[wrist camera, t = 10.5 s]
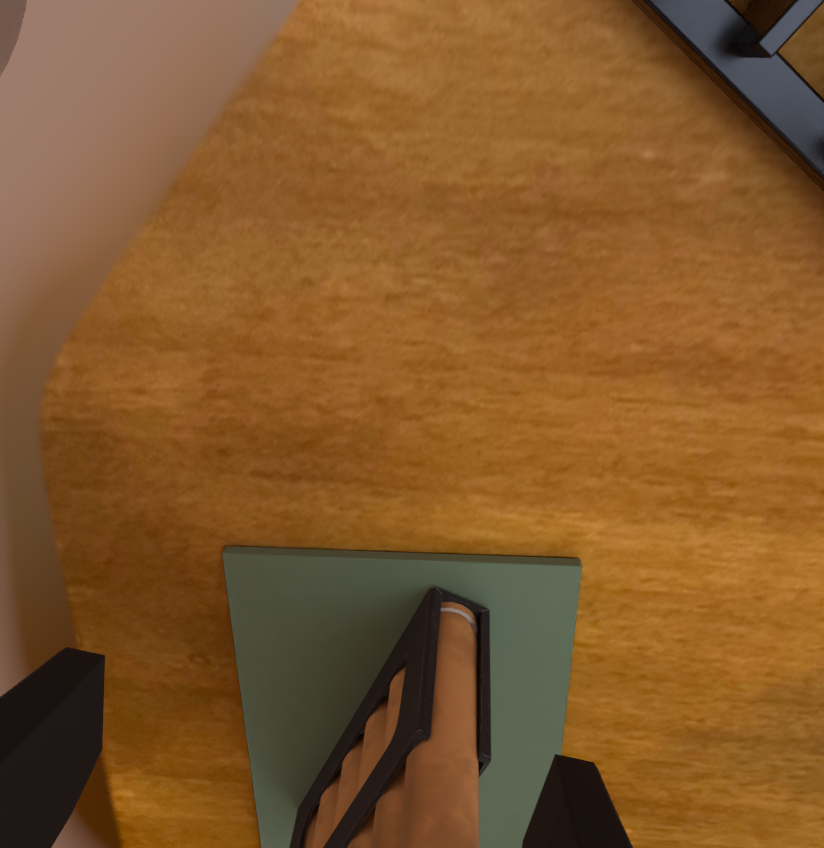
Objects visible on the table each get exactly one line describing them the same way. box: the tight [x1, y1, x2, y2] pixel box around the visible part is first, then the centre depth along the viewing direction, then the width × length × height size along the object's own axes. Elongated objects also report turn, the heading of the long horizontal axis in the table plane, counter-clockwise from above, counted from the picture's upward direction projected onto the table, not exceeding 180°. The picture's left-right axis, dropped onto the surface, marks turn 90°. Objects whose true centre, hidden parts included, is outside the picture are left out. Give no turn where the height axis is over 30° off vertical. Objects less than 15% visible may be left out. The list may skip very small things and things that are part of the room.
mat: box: [222, 546, 582, 848], centre depth 25 cm, size 14×10×1 cm
